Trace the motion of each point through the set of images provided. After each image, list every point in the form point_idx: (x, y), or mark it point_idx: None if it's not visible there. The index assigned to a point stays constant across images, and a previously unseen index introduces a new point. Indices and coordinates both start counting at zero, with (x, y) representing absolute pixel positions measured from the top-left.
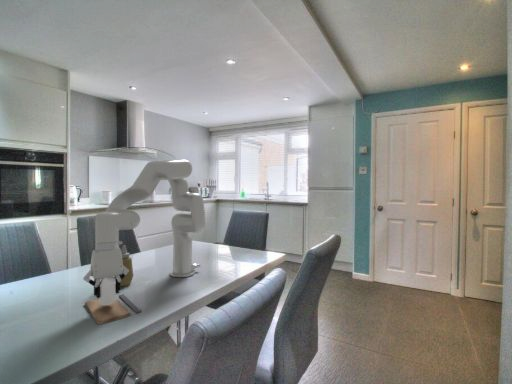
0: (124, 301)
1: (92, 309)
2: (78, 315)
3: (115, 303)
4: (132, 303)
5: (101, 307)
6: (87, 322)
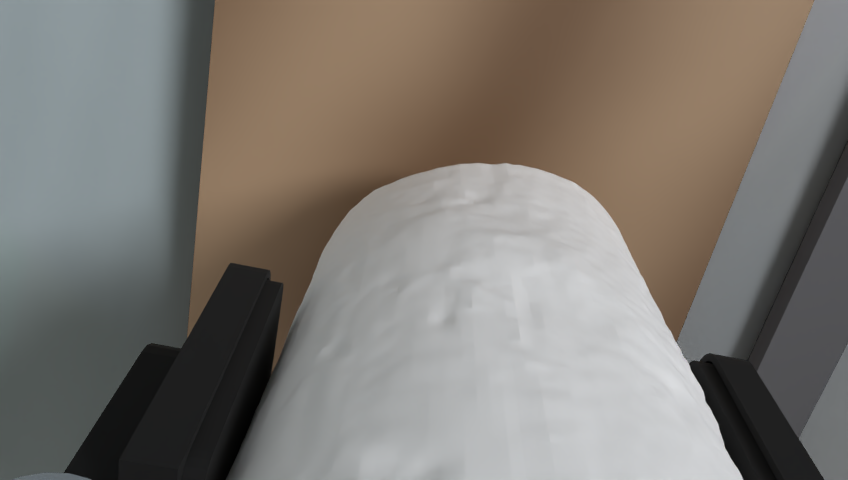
0: (842, 159)
1: (234, 159)
2: (32, 75)
3: (633, 231)
4: (819, 381)
5: None
6: (90, 398)
